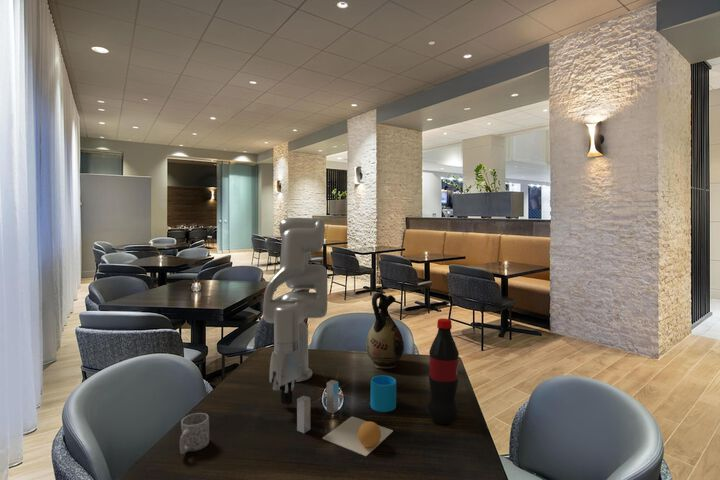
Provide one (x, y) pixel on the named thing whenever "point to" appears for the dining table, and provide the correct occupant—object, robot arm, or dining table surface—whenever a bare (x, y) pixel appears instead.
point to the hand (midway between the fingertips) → (286, 403)
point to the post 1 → (303, 414)
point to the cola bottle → (443, 375)
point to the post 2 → (332, 396)
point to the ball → (369, 434)
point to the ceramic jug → (384, 335)
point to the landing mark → (353, 436)
